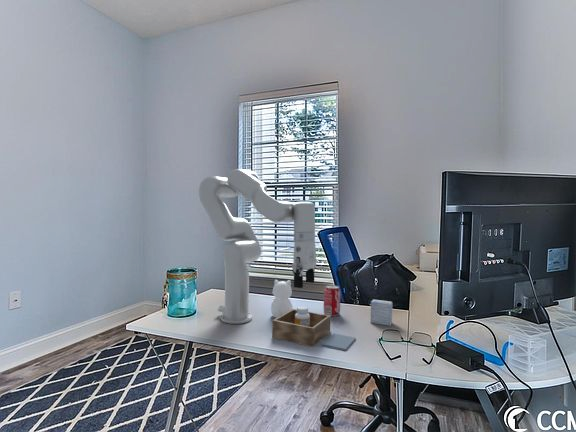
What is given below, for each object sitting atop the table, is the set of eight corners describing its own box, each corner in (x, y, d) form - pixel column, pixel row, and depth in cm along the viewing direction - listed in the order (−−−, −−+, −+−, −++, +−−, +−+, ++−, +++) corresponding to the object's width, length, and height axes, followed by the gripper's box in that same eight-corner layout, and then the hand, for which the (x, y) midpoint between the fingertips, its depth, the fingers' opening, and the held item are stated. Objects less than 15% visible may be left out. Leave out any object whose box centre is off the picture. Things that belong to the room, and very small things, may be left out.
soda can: (339, 312, 148) (340, 285, 147) (340, 317, 141) (341, 288, 140) (323, 311, 148) (323, 284, 148) (323, 316, 141) (324, 288, 141)
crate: (272, 337, 117) (272, 320, 117) (292, 324, 131) (292, 308, 131) (313, 346, 110) (313, 328, 110) (330, 331, 124) (330, 315, 124)
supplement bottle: (293, 331, 123) (294, 305, 123) (308, 331, 124) (308, 305, 123) (295, 337, 118) (295, 310, 118) (310, 337, 118) (311, 309, 118)
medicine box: (392, 323, 135) (392, 301, 135) (390, 326, 131) (391, 304, 131) (372, 319, 138) (372, 299, 138) (370, 323, 134) (370, 301, 134)
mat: (322, 345, 111) (322, 343, 111) (333, 334, 121) (333, 333, 121) (345, 350, 107) (345, 349, 107) (355, 339, 117) (355, 337, 117)
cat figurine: (293, 313, 146) (294, 278, 146) (290, 322, 133) (291, 284, 133) (272, 312, 147) (273, 277, 147) (267, 321, 134) (268, 283, 134)
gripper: (303, 238, 110) (303, 291, 111) (323, 235, 126) (323, 281, 126) (283, 238, 114) (283, 288, 114) (305, 235, 129) (305, 279, 129)
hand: (304, 284), depth 120 cm, fingers open, 9 cm apart
